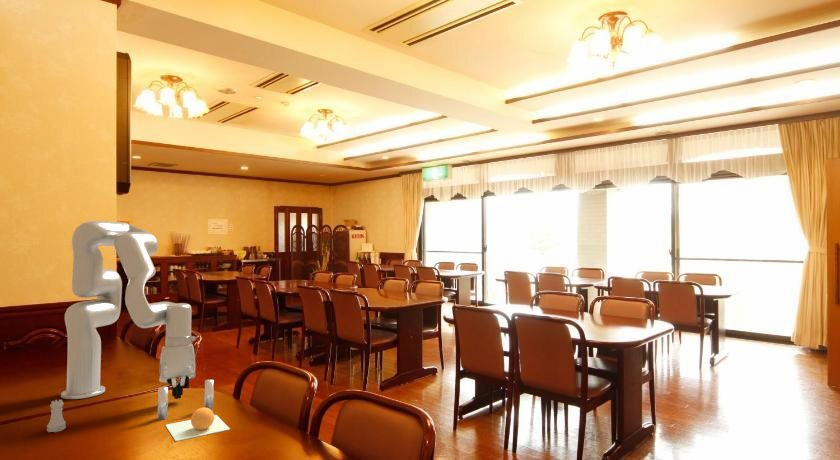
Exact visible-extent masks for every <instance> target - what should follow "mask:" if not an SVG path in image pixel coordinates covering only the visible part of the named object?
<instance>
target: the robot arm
mask: <svg viewBox="0 0 840 460" xmlns="http://www.w3.org/2000/svg"><path fill="white" fill-rule="evenodd" d="M71 245H72V246H71V247H72V255H73V258H72V259H73V261H72V276H71V277H72V278H71V279H72V281H71V289H72V291H71V292H72V293H73V295H74V296H76V297H77V298H94V297H96V299H94V300H93V299H91V300H85V301H79V302H75V303H73V304H72V305H70V306H69V307H68V308H67V309H66V311H65V313H64V324H65V326H66V327H65V328H66V334H67V335H66V336H67V362H66V363H67V365H66V369H67V370H66V390H65V389H64V391H61V393H60V397H61V399H63V400H64V399H65V400H79V399H86V398H87V399H88V398H92V397H95V396H99V395H102V394H103V393H105V392H106V387H105V386H104V385H101V366H102V365H101V360H102V359H101V358H102V357H101V355H102V341H101V336H100V334H99V332H98V331H97V328H99V327H105V326H109V325H112V324H114V323H115V322H117V320H119V317H120V314H121V308H122V294H123V291H122V290H123V289H122V288H123V281H122V278H121V275H120V274H119V273H118V272H117V271H116V270H114V269H112V268H103V266H104V265H103V264H104V258H103V253H102V252H101V249H100V248H99V247H101V246H105V247H106V246H107V247H111V246H113V247H114V249H115V252H116V255H117V256H118V258H119V261H120V264H121V265H122V268H123V270H124V272H125V275H126V276H127V277H126V278H127V279H128V283H127V284H126V288H125V297H124V301H125V306H126V308H127V311H128V314H129V315H130V319H131V320H132V322H133V323H134V324H135V325H136V326H137V327H139V328H141V329H148V328H152V327H157V326H162V325H165V345H163V346H162V348H161V353H160V360H159V375H160V376H159V379H158V381H159V382H160V383H168V384H169V385H170V386H171V396H172V397H173V398H174V399H175V400H177V399H182V396H183V395H184V386H185V384H186V383H187V382H188V381H189V380H190V379H194V378H195V377H196V355H195V348H194V345H193V341H196V340H197V337H196V336H194V335H192V312H193V311H192V306H191V304H189V303H187V302H186V303H184V302H181V303H180V302H179V303H175V302H171V301H159V302H152V303H149V302H148V300H147V297H146V294H145V285H146V283H147V281H149V280H150V279H151V278H153V277H154V276H155V274H156V273H157V272H156V267H155V266H154V263H153V261H152V259H151V256H153V255H155V254H156V253H157V252H158V249H159V243H158V239H157V238H156V237H155V235H154V234H153V233H150V232H149V231H147V230H144V229H142V228H139V227H137V226H136V225H132V224H130V223H127V222H124V221H123V222H122V221H108V220H91V221H86V222H82V223H81V224H79V225H78V226H77V227H76V228H75V230H74V231H73V233H72V237H71ZM177 378H179V379H178V382H177V380H176V379H177Z"/></svg>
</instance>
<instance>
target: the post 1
mask: <svg viewBox="0 0 840 460" xmlns="http://www.w3.org/2000/svg"><path fill="white" fill-rule="evenodd" d="M168 396H169V386H160V387H158V388H157V420H167V418H168V410H169V409H168V403H169V397H168Z"/></svg>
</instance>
